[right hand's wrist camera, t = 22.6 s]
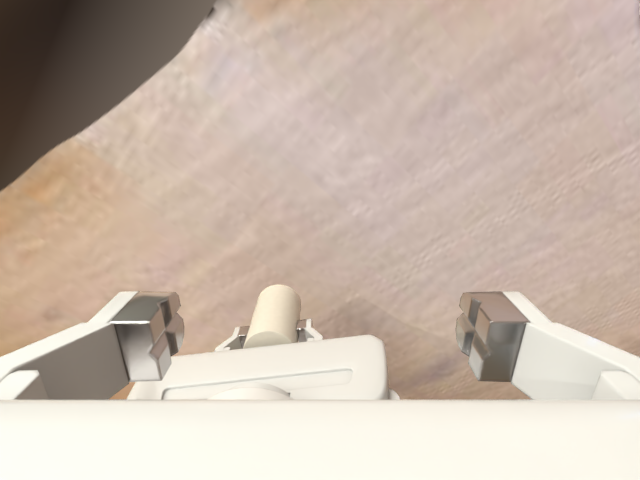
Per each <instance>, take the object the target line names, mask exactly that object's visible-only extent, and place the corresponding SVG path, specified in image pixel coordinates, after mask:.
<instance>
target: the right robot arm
mask: <svg viewBox="0 0 640 480" xmlns="http://www.w3.org/2000/svg"><path fill="white" fill-rule="evenodd" d="M639 13H640V5H639ZM180 306H181V304H180V300H179V295H178V294H177V293H176V292H143V291H142V292H140V291H124V292H119V293H118V294H117V295H116V296H115V297H114V298H113V299H112V300H111V301H110V302H109V303H108V304H107V305H106V306H105V307H104V308H102V309H101V310H100V311H99V312H98V313H97V314H96V315H95V316H94V317H93V318H92V319H91V320H90V321H89V322H88V323H80V324H78V325H75V326H73V327H71V328H68V329H66V330H64V331H61V332H59V333H56V334H54V335H52V336H49V337H47V338H45V339H42V340H40V341H37V342H35V343H33V344H30V345H28V346H26V347H23V348H21V349H18V350H16V351H14V352H11V353H9V354H7V355H4V356H2V357H0V480H640V357H638V356H636V355H633V354H631V353H628V352H626V351H624V350H621V349H619V348H617V347H614V346H612V345H610V344H607V343H605V342H602V341H600V340H598V339H595V338H593V337H591V336H588V335H586V334H584V333H581V332H579V331H576V330H574V329H572V328H569V327H567V326H565V325H562V324H560V323H552V322H551V321H550V320H549V319H548V318H547V317H546V316H545V315H544V314H543V313H542V312H541V311H540V310H539V309H538V308H537V307H535V306H534V305H533V304H532V303H531V302H530V301H529V300H528V299H527V298H526V297H525V296H524V295H523V294H522V293H521V292H518V291H505V292H466V293H463V294H462V296H461V299H460V304H459V306H460V308H461V309H462V311H463V313H462V314H461V315H460V316H459V318H458V319H457V322H456V339H457V342H458V345H459V347H460V349H461V351H462V352H463V353H464V354H466V355H468V356H469V361H468V364H469V365H470V367H471V369H472V371H473V372H474V374H475V376H476V378H477V379H478V381H498V382H511V384H513V385H514V386H515V387H516V388H518V389H519V390H520V391H522V392H523V393H524V394H526V395H527V396H528V397H530V398H531V399H532V400H108V399H109V398H111V397H112V396H113V395H114V394H116V393H117V392H118V391H120V390H121V389H122V388H124V387H125V386H126V385H128V384H129V382H141V381H162V380H163V378H164V376H165V374H166V372H167V371H168V369H169V367H170V365H171V364H172V361H171V356H172V355H174V354H176V353H177V352H178V351H179V349H180V347H181V345H182V342H183V338H184V322H183V319H182V318H181V316H180V315H179V314H178V313H177V311H178V309H179V308H180Z"/></svg>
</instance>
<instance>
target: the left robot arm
mask: <svg viewBox="0 0 640 480" xmlns="http://www.w3.org/2000/svg"><path fill="white" fill-rule="evenodd" d="M249 327H250V326H243V327H236V328H235V330H234V333H233V336H232V337H230V338H229V339H227V340H226V341H225V342H223V343H222V344H221V345H219V346H218V347H217V348H216V349H215V351H214V352H209V353H200V354H191V355H182V356H173V357H171V361H172V364H171V365H170V367H169V369H168V371H167V372H166V374H165V376H164V378H163V380H162V381H141V382H136V383H135V385H134V386H133V388H132V390H131V392H130V393H129V395H128V397H127V399H126V400H401V399H400V397H399V396H398V394H397V393H396V392H395V391H393V390H392V389H390V388H389V377H388V366H387V357H386V351H385V345H384V342H383V341H382V340H380V339H379V338H377V337H375V336H373V335H360V336H352V337H343V338H334V339H325V340H323V336H322V335H321V334H319V333H318V332H317V331H316V330H315V329H314V328H313V323H312V319H305V320H298V321H297V325H296V330H297V334H298V343H289V344H280V345H271V346H262V347H253V348H244V349H243V347H244V344H245V340H246V337H247V334H248V330H249Z"/></svg>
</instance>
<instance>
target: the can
mask: <svg viewBox="0 0 640 480" xmlns="http://www.w3.org/2000/svg"><path fill="white" fill-rule="evenodd" d="M300 310H301V300H300V297H299V295H298V294H297V293H296V292H295V291H294V290H293V289H292V288H290V287H288V286H285V285H272V286H269V287H267V288H266V289H264V290H263V291H262V292H261V294H260V295H259V298H258V301H257V304H256V308H255V311H254V314H253V317H252V321H251V324H250V327H249V330H248V334H247V337H246V340H245V344H244V347H243V349H244V348H253V347H262V346H271V345H280V344H289V343H298V334H297V330H296V325H297V321H298V320H300Z"/></svg>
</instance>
